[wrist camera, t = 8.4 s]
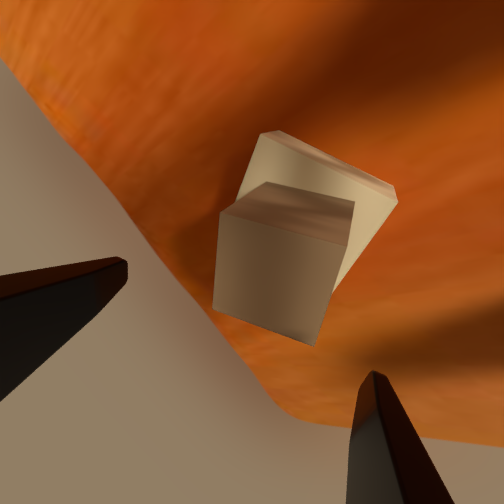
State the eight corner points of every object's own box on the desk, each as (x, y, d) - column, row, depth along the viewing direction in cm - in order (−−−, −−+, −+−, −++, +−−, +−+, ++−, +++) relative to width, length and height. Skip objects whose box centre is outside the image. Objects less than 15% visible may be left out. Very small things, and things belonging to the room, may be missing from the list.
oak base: (393, 185, 18) (398, 202, 14) (329, 277, 22) (321, 307, 19) (280, 129, 19) (260, 133, 15) (240, 228, 23) (217, 248, 20)
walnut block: (355, 201, 15) (347, 246, 10) (330, 278, 17) (314, 346, 12) (266, 181, 16) (219, 212, 11) (255, 255, 19) (212, 309, 14)
